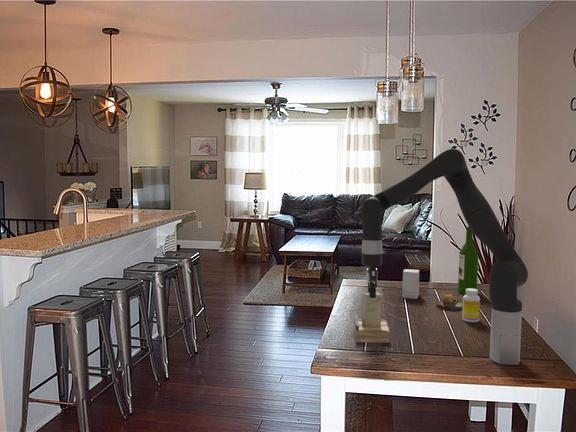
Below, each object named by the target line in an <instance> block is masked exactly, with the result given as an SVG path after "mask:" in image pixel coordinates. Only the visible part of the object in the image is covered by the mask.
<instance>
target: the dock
mask: <svg viewBox="0 0 576 432" xmlns="http://www.w3.org/2000/svg"><path fill="white" fill-rule="evenodd" d="M353 316H354V320H353V321H354V322H353V323H354V324H353V325H354V326H353V327H354V328H353V330H354V337H355V338H354V339H355V343H382V344H385V343H387V344H388V343H390V337H391V333H390V328H389V325H388V323H387V320H386V319H381V326H380V327H365V326H364V325H363V324H362V318H358V314H354V315H353Z"/></svg>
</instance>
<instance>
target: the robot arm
mask: <svg viewBox="0 0 576 432" xmlns="http://www.w3.org/2000/svg"><path fill="white" fill-rule="evenodd" d="M467 165H468V164H467V161H466V159H465V156H464V154H463V153H462V152H461V151H460V150H459V149H457V148H448V149H445V150H443V151H442V152H440V153H439V154H438V155H437V156H435V157H433V159H431V160H430V161H429V162H428V163H426V164H424V165H423V166H422V167H420V168H419V169H417V170H416V171H414V172H412V173H411V174H409V175H408V176H406V177H404V178H402V179H401V180H399V181H397V182H395V183H393V184H392V185H390V186H388V187H386V188H385V189H384V190H382V191H380V192H378V193H376V194H374V195H372V196H370V197H368V198H367V199H365V200H364V201H363V202H362V205H361V217H362V218H361V219H362V241H361V264H362V266H367V267H366V270H365V272H366V279H367V280H366V281H367V293H369V292H370V298H376V292H377V287H378V275H379V274H378V273H379V271H378V269H377V267H379V266H382V264H383V228H382V213H383V212H384V211H387V210H388V209H390V208H392V207H393V206H396V205H399V204H401V203H403V202H405V201H406V200H408V199H410V198H412V197H413V196H415V195H416V194H418V193H419V192H420V191H421V190H422V189H423V188H425V187H426V186H428V185H429V184H430V183H431V182H434V181H435V180H437V179H439V178H442V177H444V178H445V180H446V181H447V182H448V184H449V185H450V187H451V189H452V191H453V192H454V194H455V196H456V199H457V203H458V206H459V208H460V210H461V213H462V216H463V217H464V220H465V222H466V224H467V225H468V226H467V227H469V228H470V229H471V231H472V232H473V235H474V236H475V237H476V238H477V239H478V240H479V241H480V242H481V243H482V244H483V245H485V247H486V248H488V249H489V251H490V253H491V254H492V255H493V257H494V260H495V261H496V262H495V263H494V264H493V265H492V266H491V268H490V272H489V276H488V277H489V278H488V279H489V283H488V284H489V285H488V286H489V291H488V292H489V298H490V299H489V300H490V302H491V313H490V314H491V316H490V334H489V335H490V338H489V339H490V343H489V359H490V360H491V361H492V362H494V363H496V364H498V365H509V366H510V365H511V366H512V365H513V366H515V365H516V366H520V361H521V341H522V340H521V338H522V337H521V336H522V319H523V318H522V317H523V315H522V314H523V302H522V300H521V299H519V298H518V291H517V289H518V287H521V286H523V285H525V284H526V283H527V281H528V278H529V272H528V268H527V267H526V264H525V263H524V261H523V260H522V259H521V257H520V255H519V254H518V252H517V250H515V248H514V247H513V245H512V243H511V242H510V240H509V238H508V237H507V235H506V233H505V231H504V229H503V227H502V225H501V224H500V222H499V220H498V219H497V215H496V214H495V212H494V209H492V207H491V205H490V203H489V202H488V200H487V199H486V198H485V196H484V195H483V193H482V192H481V191H480V189H479V188H478V186H477V185H476V184H475V182H474V180H473V177H472V175H471V173H470V170H469V168H468V166H467Z"/></svg>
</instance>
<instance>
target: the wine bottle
mask: <svg viewBox="0 0 576 432" xmlns="http://www.w3.org/2000/svg"><path fill="white" fill-rule="evenodd" d="M473 235H474V234H473V232H472V231H471V229H470V228H469V226H467V227H466V232H465V243H464V244H463V246H462V247H461V248H460V250H459V254H458V274H457V275H458V276H457V277H458V281H457V282H458V283H457V292H458V293H459V294H462V295H466V289H467V288H473V289H477V290H478V277H479V276H478V274H479V273H478V271H479V270H478V269H479V252H478V251H479V250H477V247H476V246H475V245H474V243H473V242H474V241H473V237H474V236H473Z"/></svg>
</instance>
